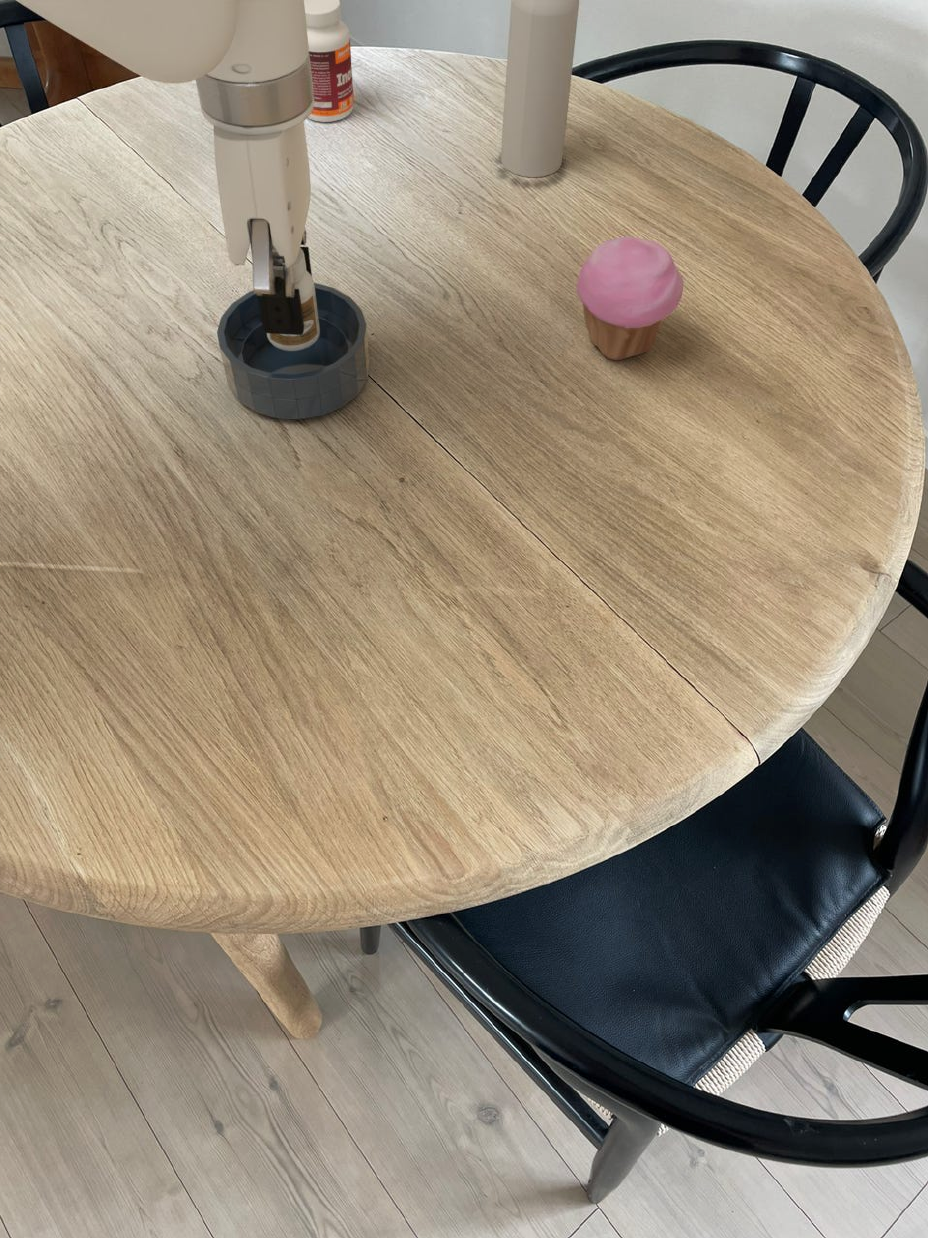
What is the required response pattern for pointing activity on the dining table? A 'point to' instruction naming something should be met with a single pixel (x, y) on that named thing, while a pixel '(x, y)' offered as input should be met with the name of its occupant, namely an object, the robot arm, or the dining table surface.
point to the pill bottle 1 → (309, 309)
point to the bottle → (538, 85)
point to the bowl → (296, 359)
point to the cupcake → (627, 294)
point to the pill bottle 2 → (329, 60)
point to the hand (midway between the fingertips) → (288, 308)
